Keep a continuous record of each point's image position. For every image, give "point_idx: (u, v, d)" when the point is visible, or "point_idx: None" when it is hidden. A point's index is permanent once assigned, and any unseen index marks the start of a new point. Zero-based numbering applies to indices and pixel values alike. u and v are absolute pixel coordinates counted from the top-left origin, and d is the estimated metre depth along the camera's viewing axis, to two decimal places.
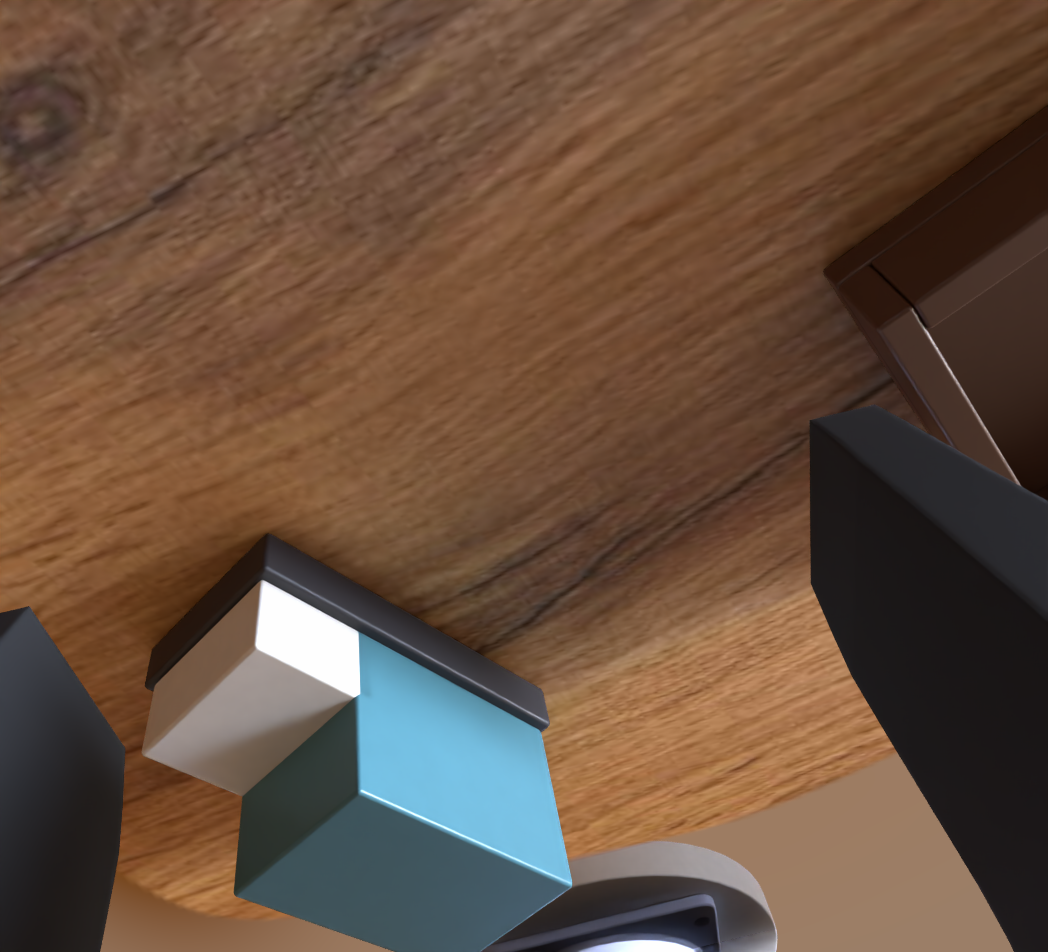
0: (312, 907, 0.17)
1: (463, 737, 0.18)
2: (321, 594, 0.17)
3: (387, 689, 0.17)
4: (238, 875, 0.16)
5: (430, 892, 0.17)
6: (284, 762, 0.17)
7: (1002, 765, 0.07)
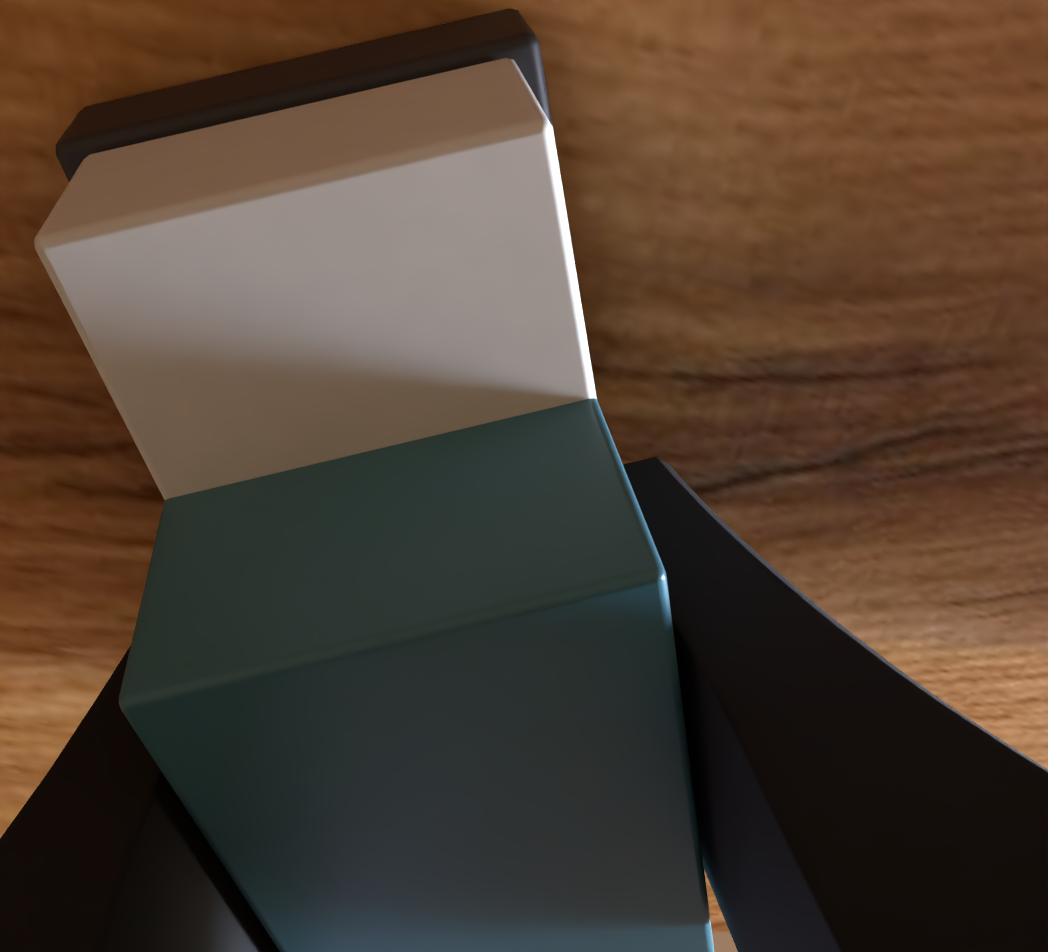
0: (261, 819, 0.06)
1: None
2: (562, 186, 0.08)
3: None
4: (145, 659, 0.06)
5: (511, 888, 0.07)
6: (330, 464, 0.07)
7: (725, 833, 0.07)
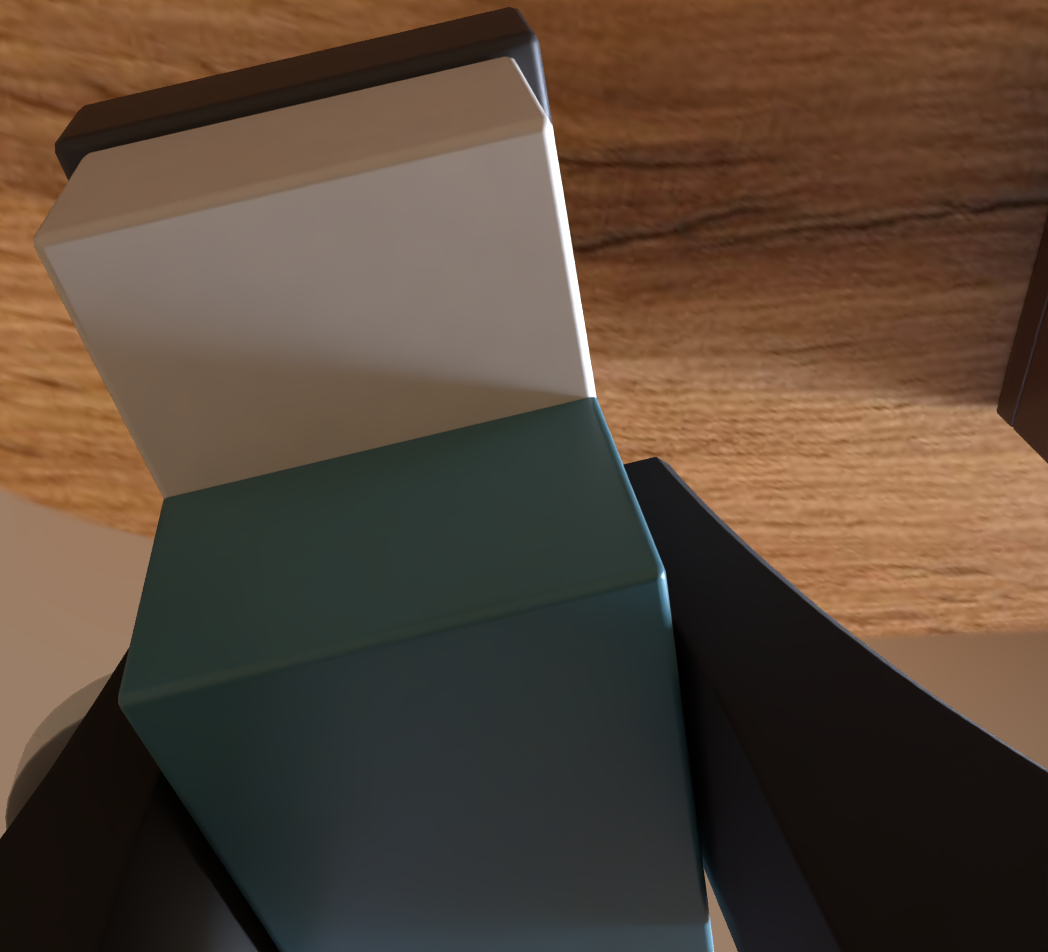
0: (261, 817, 0.06)
1: None
2: None
3: None
4: (144, 658, 0.06)
5: (510, 887, 0.07)
6: (330, 463, 0.07)
7: (725, 833, 0.07)
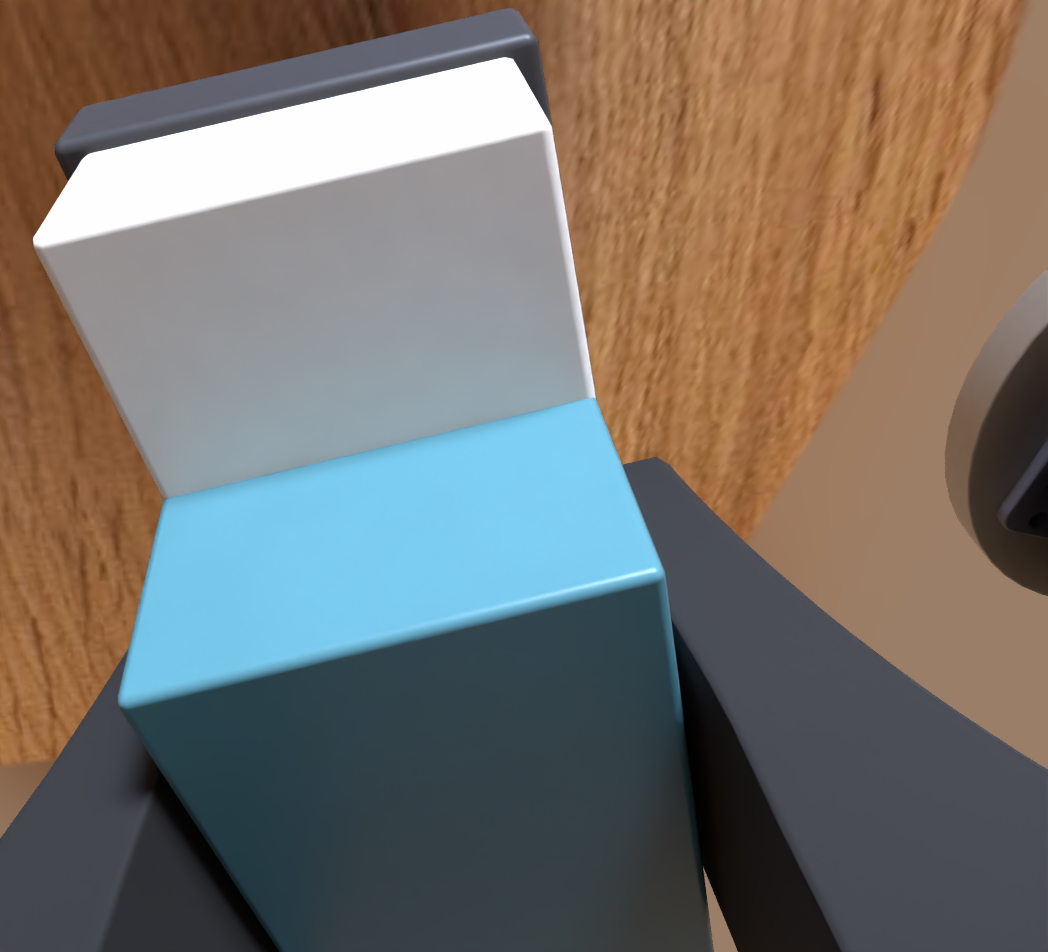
0: (259, 819, 0.06)
1: None
2: (561, 184, 0.08)
3: None
4: (143, 659, 0.06)
5: (510, 888, 0.07)
6: (328, 464, 0.07)
7: (725, 833, 0.07)
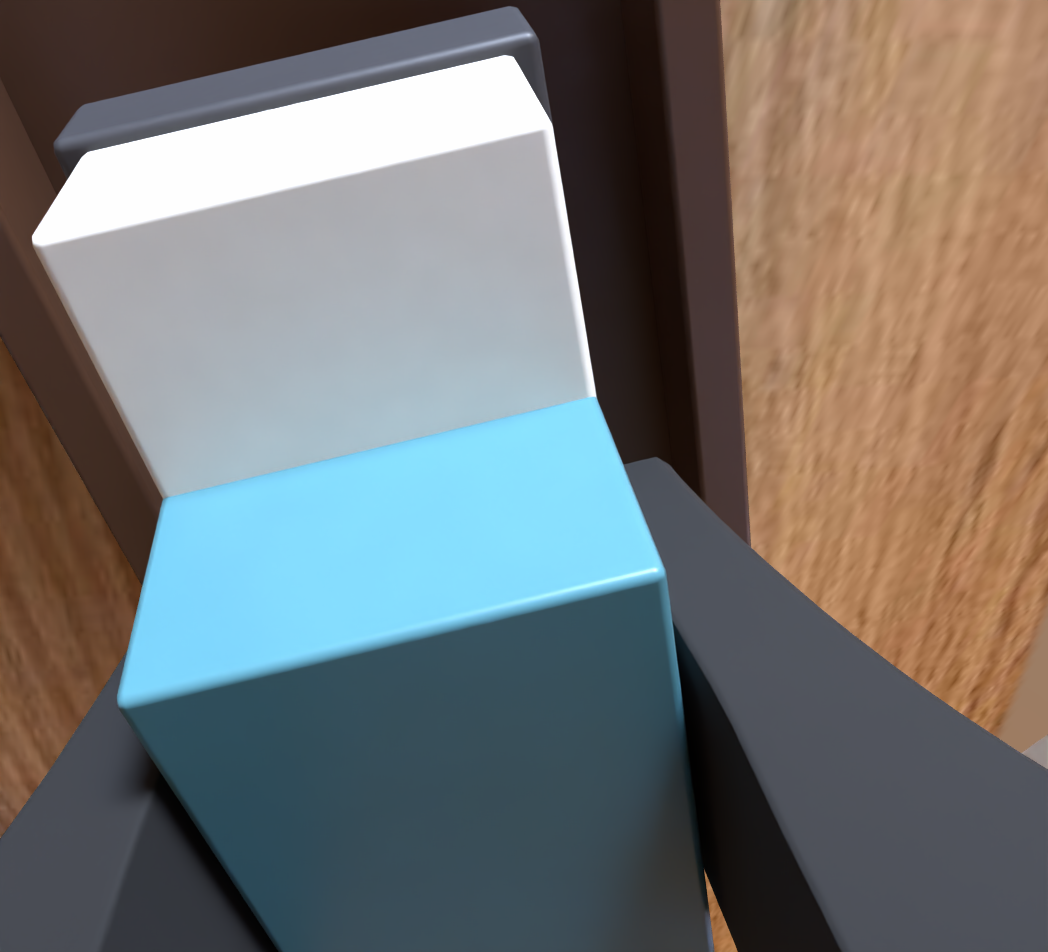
0: (258, 820, 0.06)
1: None
2: (561, 184, 0.08)
3: None
4: (143, 659, 0.06)
5: (510, 887, 0.07)
6: (329, 463, 0.07)
7: (725, 833, 0.07)
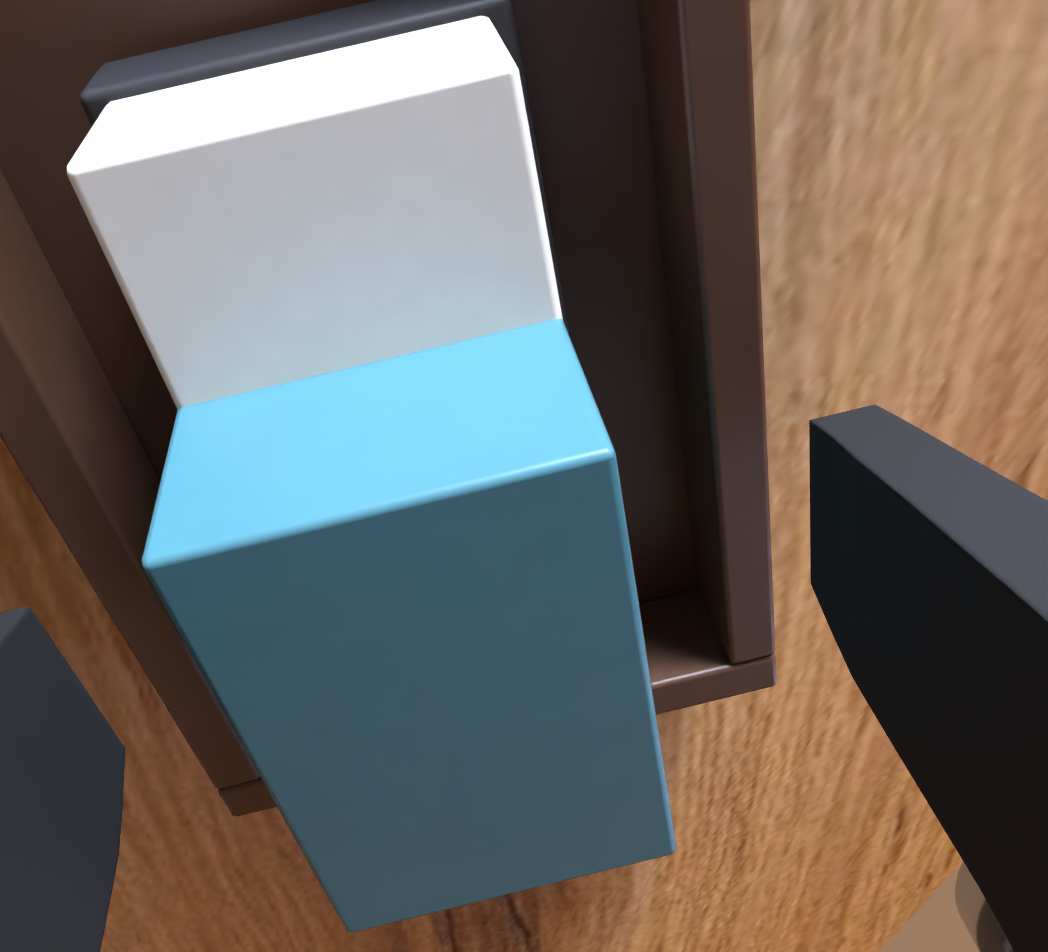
0: (264, 680, 0.07)
1: None
2: (534, 134, 0.09)
3: None
4: (163, 530, 0.07)
5: (487, 756, 0.08)
6: (325, 376, 0.08)
7: (1002, 765, 0.07)
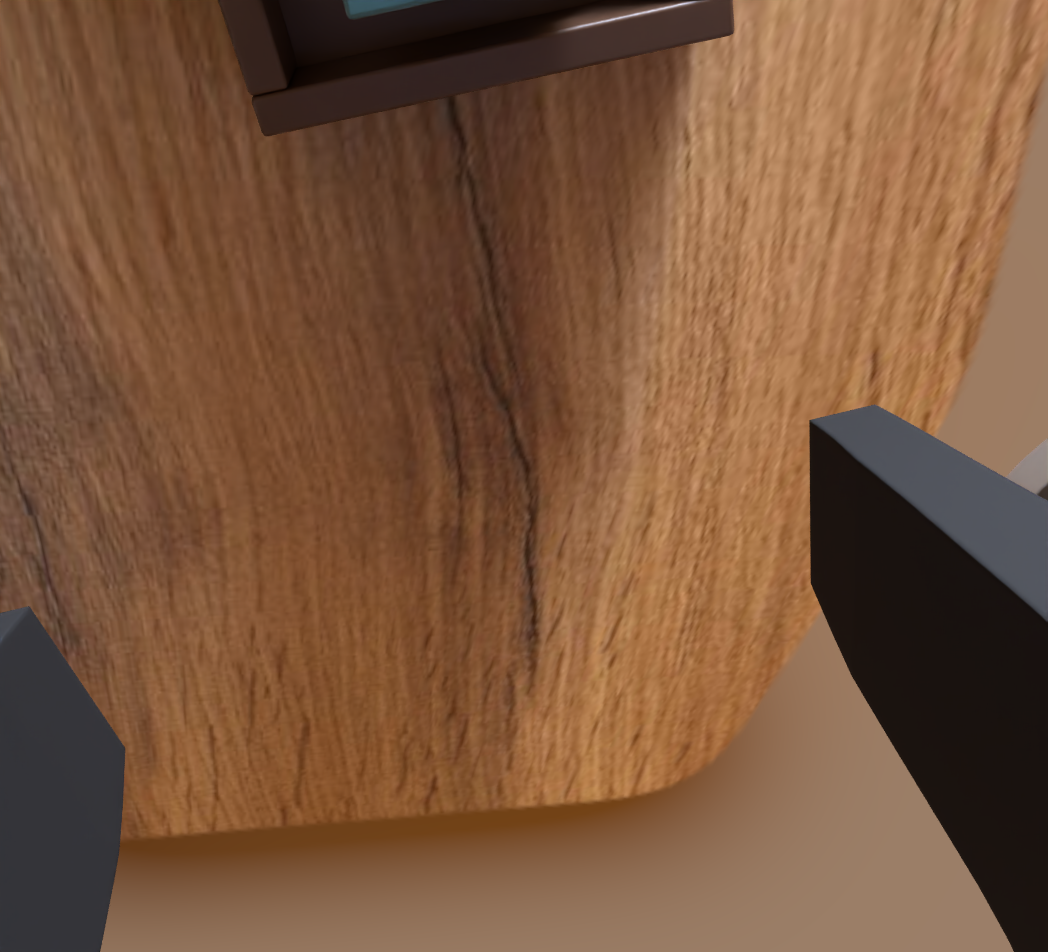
0: None
1: None
2: None
3: None
4: None
5: None
6: None
7: (1002, 765, 0.07)
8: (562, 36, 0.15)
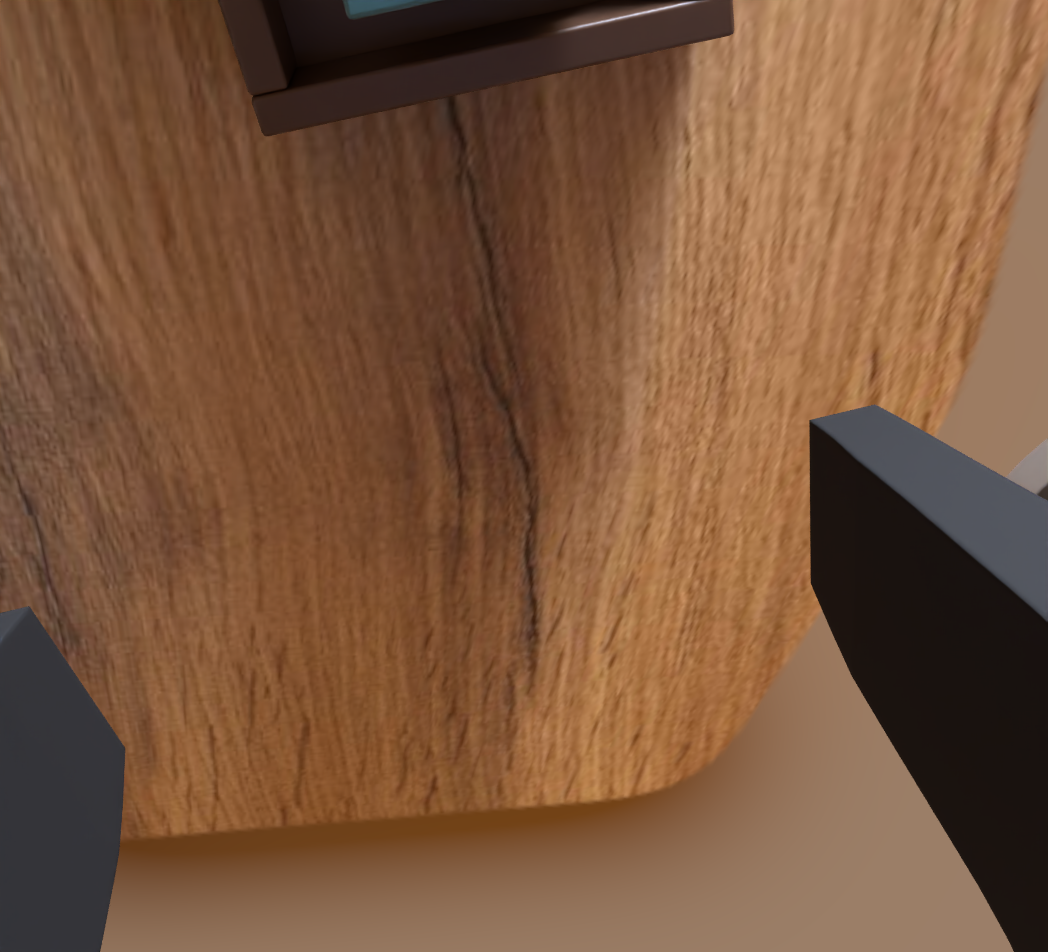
0: None
1: None
2: None
3: None
4: None
5: None
6: None
7: (1002, 765, 0.07)
8: (562, 36, 0.15)
